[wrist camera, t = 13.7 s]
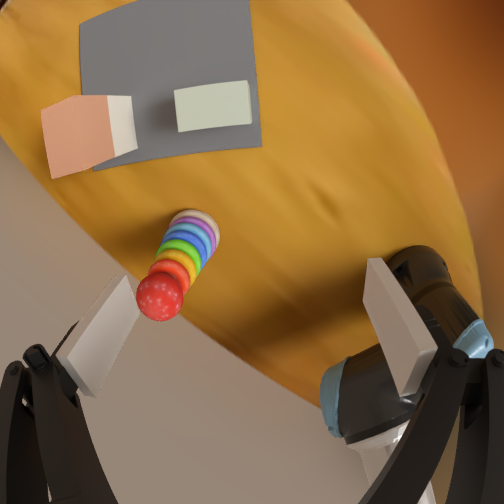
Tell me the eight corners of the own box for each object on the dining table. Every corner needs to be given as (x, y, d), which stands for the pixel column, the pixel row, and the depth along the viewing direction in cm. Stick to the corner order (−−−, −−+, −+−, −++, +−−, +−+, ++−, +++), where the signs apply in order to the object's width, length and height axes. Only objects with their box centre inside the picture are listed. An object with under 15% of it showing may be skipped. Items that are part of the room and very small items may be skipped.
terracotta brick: (75, 106, 26) (40, 110, 20) (107, 95, 26) (73, 95, 20) (84, 164, 30) (51, 179, 24) (115, 156, 30) (84, 170, 23)
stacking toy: (200, 197, 40) (159, 264, 23) (230, 240, 43) (212, 326, 26) (160, 223, 42) (106, 297, 25) (189, 262, 45) (156, 348, 28)
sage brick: (249, 86, 32) (246, 80, 25) (252, 121, 34) (250, 123, 28) (189, 93, 32) (173, 90, 26) (192, 128, 35) (178, 132, 28)
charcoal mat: (246, -20, 24) (246, -21, 23) (261, 146, 36) (261, 146, 36) (81, 24, 25) (80, 23, 25) (95, 170, 38) (93, 171, 37)
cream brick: (102, 104, 32) (75, 106, 26) (131, 96, 32) (106, 95, 26) (109, 154, 36) (84, 164, 30) (137, 148, 36) (115, 157, 30)
